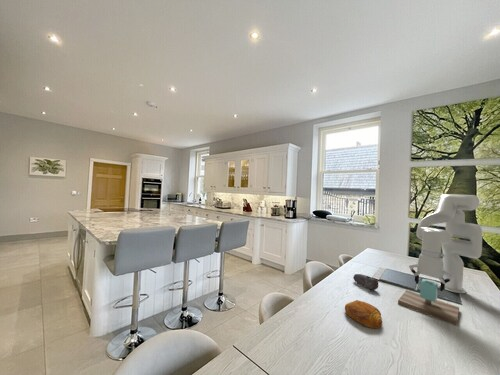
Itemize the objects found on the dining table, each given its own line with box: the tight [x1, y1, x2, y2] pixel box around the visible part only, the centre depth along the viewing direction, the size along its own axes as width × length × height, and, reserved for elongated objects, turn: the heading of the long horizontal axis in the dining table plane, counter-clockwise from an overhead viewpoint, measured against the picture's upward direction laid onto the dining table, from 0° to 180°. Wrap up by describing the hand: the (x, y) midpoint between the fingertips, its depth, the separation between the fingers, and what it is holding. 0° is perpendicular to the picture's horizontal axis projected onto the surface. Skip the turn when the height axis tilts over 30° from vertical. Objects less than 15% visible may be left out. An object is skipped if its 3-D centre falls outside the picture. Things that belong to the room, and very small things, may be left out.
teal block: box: [419, 278, 439, 302], centre depth 109 cm, size 6×6×8 cm
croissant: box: [344, 299, 383, 329], centre depth 96 cm, size 14×16×8 cm
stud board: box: [397, 289, 460, 326], centre depth 109 cm, size 18×22×11 cm
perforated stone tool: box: [353, 273, 379, 291], centre depth 130 cm, size 15×5×7 cm, turn 27°
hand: (429, 286), depth 109 cm, fingers open, 9 cm apart
